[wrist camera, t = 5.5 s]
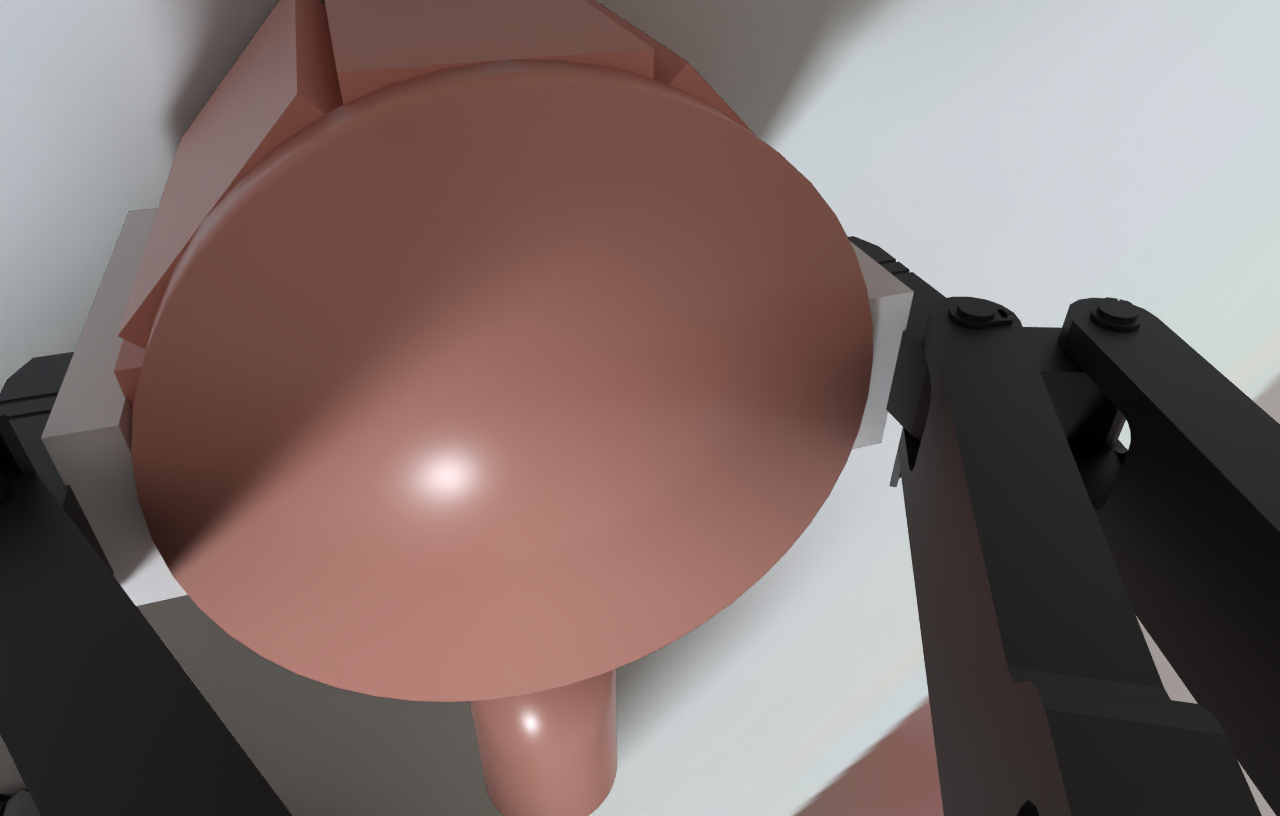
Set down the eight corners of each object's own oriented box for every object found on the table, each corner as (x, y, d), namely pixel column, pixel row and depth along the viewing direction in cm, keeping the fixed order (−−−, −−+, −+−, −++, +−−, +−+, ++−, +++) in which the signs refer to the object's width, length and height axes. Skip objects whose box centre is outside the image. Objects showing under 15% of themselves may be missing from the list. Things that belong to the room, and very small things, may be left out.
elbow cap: (117, -25, 13) (-36, 129, 7) (682, -50, 16) (936, 50, 9) (326, 632, 22) (339, 952, 16) (663, 551, 25) (788, 802, 19)
